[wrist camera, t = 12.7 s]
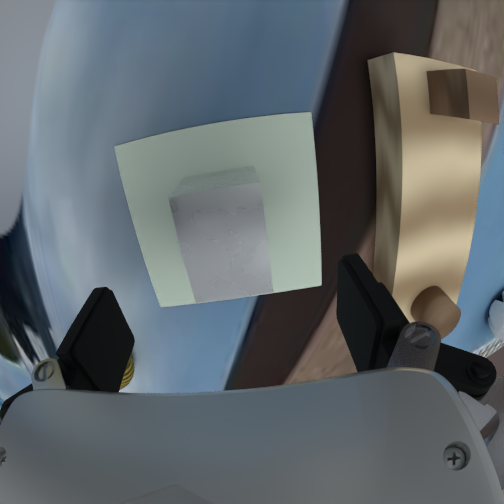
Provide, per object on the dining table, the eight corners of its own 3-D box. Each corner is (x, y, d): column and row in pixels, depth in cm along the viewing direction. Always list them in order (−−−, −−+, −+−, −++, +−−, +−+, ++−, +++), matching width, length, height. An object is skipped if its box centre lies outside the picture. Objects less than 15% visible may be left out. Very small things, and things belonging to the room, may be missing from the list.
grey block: (183, 177, 20) (168, 197, 15) (254, 166, 20) (260, 182, 15) (202, 264, 23) (195, 302, 18) (265, 255, 23) (273, 292, 18)
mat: (116, 145, 18) (113, 146, 18) (309, 111, 18) (311, 111, 18) (161, 304, 25) (160, 307, 24) (320, 282, 25) (321, 285, 24)
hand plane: (367, 60, 16) (430, 43, 9) (446, 71, 16) (514, 71, 9) (369, 308, 26) (402, 367, 19) (433, 292, 26) (473, 340, 19)
